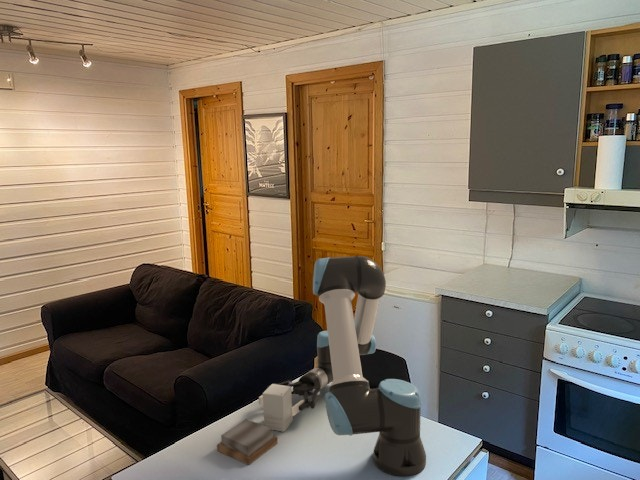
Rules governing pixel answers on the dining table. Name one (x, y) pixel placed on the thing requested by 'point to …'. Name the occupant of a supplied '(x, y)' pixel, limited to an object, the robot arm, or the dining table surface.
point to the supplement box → (277, 407)
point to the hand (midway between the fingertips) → (275, 406)
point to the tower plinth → (247, 441)
